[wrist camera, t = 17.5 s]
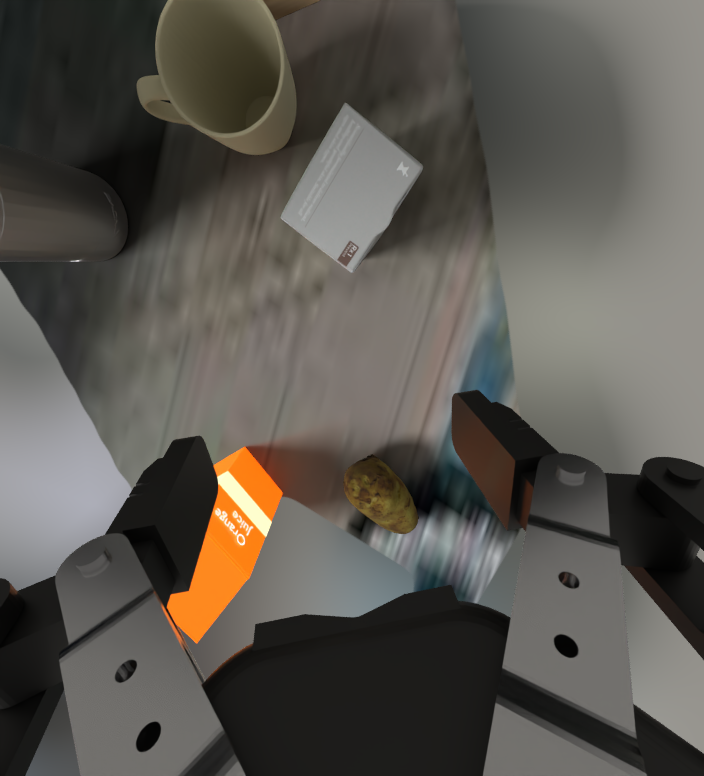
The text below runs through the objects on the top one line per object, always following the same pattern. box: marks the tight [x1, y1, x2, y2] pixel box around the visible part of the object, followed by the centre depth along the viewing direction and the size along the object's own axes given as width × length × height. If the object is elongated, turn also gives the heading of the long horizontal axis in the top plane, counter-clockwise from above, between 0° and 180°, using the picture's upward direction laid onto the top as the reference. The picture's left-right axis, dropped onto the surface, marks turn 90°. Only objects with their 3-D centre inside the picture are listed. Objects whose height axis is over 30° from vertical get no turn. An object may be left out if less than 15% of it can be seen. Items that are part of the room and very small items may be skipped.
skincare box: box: [280, 103, 423, 273], centre depth 30 cm, size 8×7×16 cm
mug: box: [137, 0, 297, 155], centre depth 30 cm, size 11×10×12 cm
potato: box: [343, 454, 419, 534], centre depth 45 cm, size 8×13×8 cm, turn 13°
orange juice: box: [167, 447, 283, 643], centre depth 41 cm, size 8×9×20 cm
